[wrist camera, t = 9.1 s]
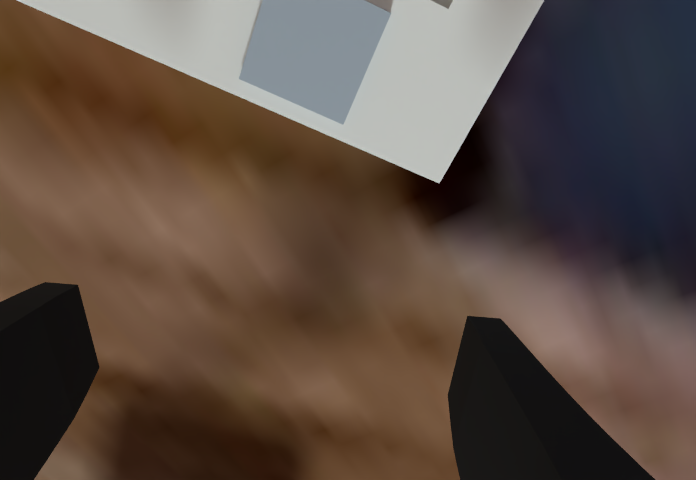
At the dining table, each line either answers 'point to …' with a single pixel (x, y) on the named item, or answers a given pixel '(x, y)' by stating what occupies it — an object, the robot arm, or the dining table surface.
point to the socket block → (333, 61)
